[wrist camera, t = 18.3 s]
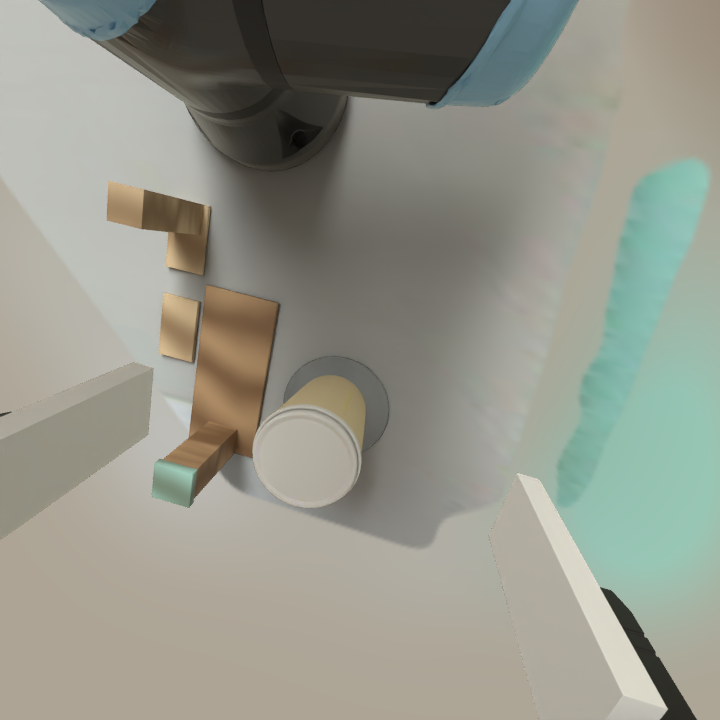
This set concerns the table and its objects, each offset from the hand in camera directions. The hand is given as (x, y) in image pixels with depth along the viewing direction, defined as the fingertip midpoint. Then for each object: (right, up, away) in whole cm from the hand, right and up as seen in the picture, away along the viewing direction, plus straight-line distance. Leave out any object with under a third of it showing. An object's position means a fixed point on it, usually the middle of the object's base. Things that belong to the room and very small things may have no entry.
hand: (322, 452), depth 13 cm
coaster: (-1, -2, +29) cm, 30 cm away
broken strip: (-18, +11, +28) cm, 35 cm away
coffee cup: (-2, -2, +29) cm, 29 cm away
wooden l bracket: (-13, +2, +30) cm, 33 cm away
